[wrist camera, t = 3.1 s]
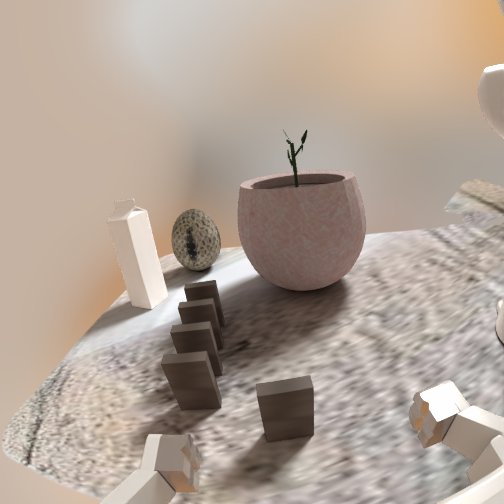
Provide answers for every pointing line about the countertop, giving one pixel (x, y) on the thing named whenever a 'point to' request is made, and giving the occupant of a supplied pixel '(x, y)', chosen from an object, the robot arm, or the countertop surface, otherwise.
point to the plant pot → (302, 225)
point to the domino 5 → (287, 408)
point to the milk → (137, 254)
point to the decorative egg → (195, 240)
